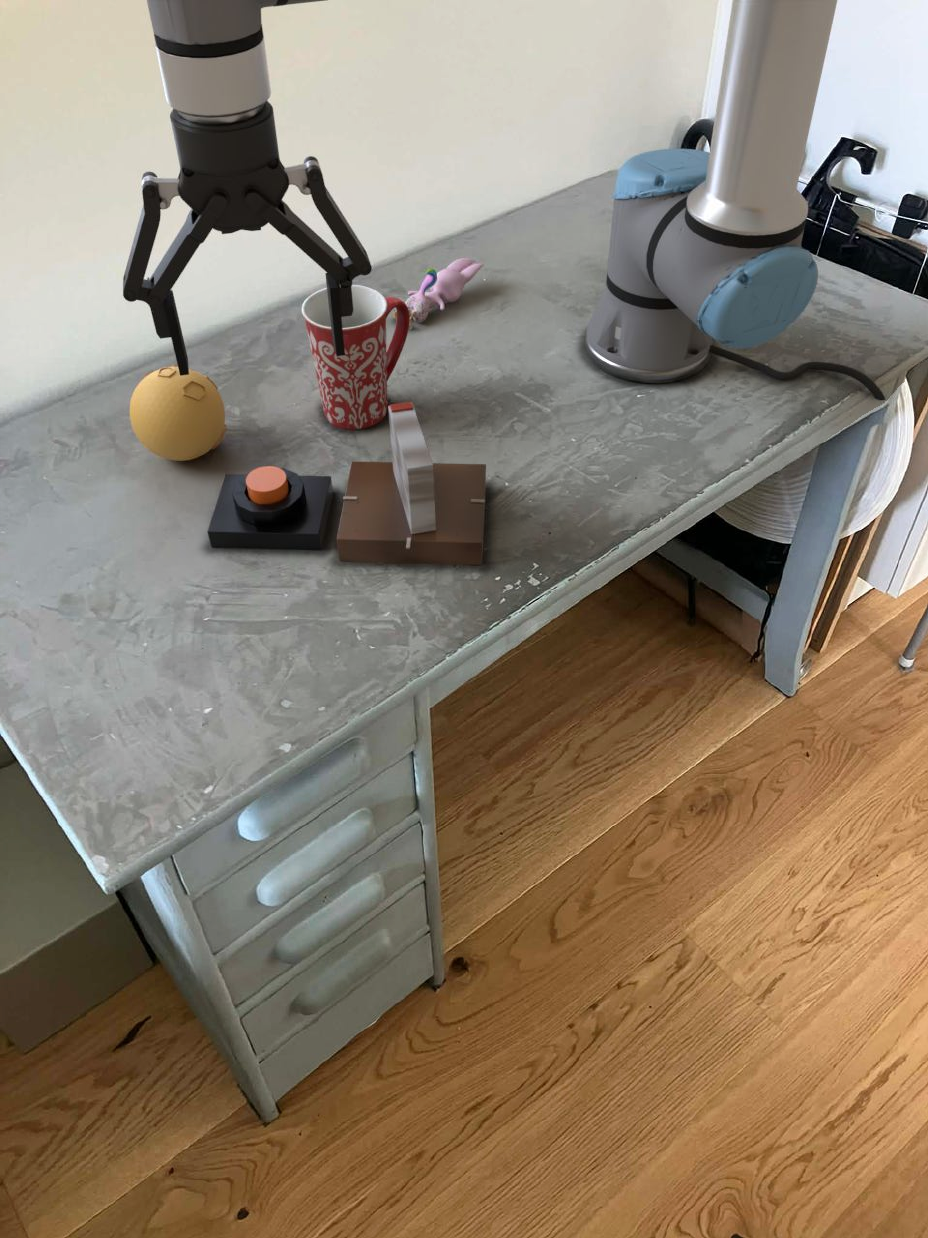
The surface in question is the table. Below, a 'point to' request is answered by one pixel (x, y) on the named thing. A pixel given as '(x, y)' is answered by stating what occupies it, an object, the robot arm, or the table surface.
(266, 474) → the button
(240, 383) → the table surface
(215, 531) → the button housing
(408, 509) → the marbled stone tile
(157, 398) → the stress ball
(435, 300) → the rabbit figure
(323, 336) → the mug
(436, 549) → the plate
